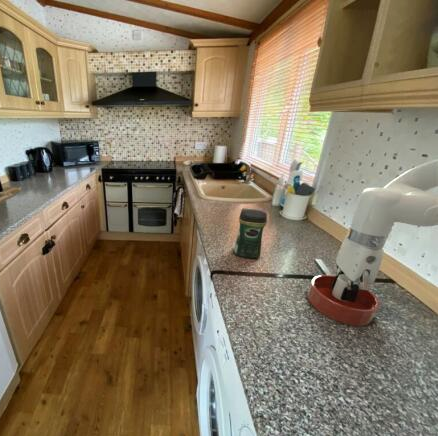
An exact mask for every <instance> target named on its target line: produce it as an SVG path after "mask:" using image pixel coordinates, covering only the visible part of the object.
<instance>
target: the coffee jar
mask: <svg viewBox="0 0 438 436" xmlns="http://www.w3.org/2000/svg"><path fill="white" fill-rule="evenodd" d="M238 221H239V228H238V232H237V236H236V240H235V242H234V243H235V244H234V247H233V249H234V253H235V255H237V256H239V257H243V258H249V259H258V258H259V257H261V252H262V240H263V232H264V229H265V227H266V226H267V222H268V213H267V211H266V210H265V209H255V208H245V207H243V208H242V209H241V210H240V214H239V216H238Z"/></svg>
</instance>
